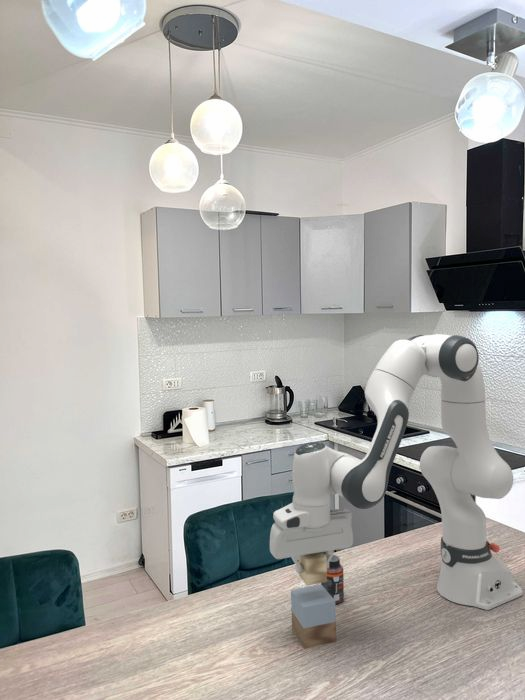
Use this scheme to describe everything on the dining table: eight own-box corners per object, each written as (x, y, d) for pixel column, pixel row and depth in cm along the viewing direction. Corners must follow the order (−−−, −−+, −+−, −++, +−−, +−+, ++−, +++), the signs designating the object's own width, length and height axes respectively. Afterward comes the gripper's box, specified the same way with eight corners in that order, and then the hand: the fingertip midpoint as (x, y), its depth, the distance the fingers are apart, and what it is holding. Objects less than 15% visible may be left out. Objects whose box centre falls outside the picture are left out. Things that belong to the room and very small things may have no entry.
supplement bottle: (343, 606, 135) (342, 564, 135) (320, 604, 136) (319, 562, 136) (344, 594, 141) (343, 553, 140) (322, 592, 142) (321, 552, 142)
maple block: (318, 572, 125) (317, 548, 125) (326, 581, 120) (326, 556, 120) (299, 575, 124) (298, 551, 123) (306, 585, 119) (306, 560, 119)
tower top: (321, 603, 128) (321, 584, 127) (335, 621, 120) (335, 600, 120) (291, 609, 125) (290, 590, 125) (303, 628, 118) (303, 607, 117)
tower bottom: (322, 623, 128) (321, 603, 128) (336, 642, 120) (335, 621, 120) (292, 629, 126) (291, 609, 125) (304, 649, 118) (304, 628, 118)
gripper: (345, 502, 127) (346, 557, 128) (266, 513, 121) (267, 570, 122) (357, 511, 121) (358, 568, 122) (275, 523, 115) (276, 583, 116)
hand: (312, 569), depth 122 cm, fingers closed on maple block, 5 cm apart
